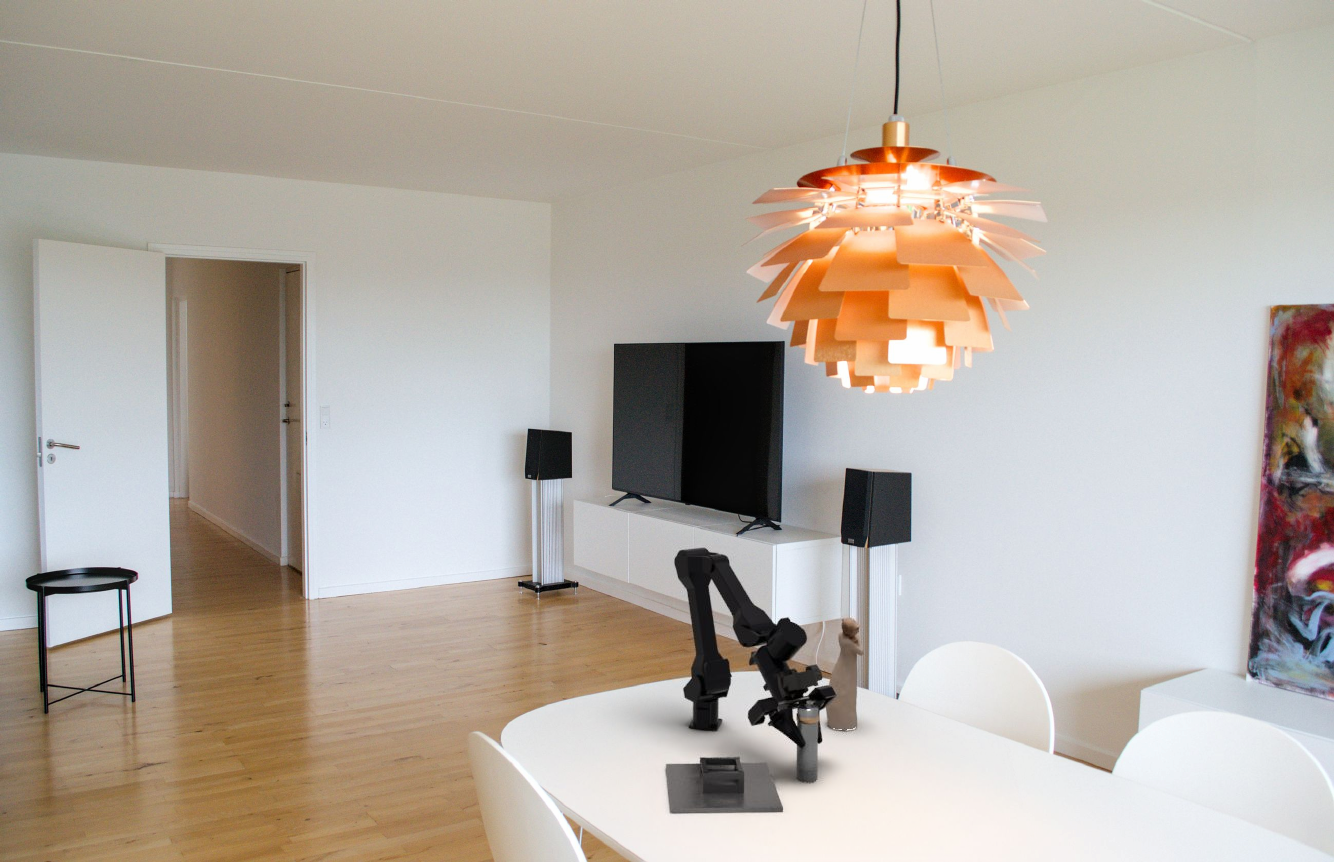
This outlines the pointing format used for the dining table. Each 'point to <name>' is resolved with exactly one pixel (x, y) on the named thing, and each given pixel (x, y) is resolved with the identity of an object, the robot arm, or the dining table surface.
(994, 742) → the dining table surface
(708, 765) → the collar stand
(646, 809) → the dining table surface
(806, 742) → the grey metal cylinder
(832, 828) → the dining table surface
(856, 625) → the figurine
